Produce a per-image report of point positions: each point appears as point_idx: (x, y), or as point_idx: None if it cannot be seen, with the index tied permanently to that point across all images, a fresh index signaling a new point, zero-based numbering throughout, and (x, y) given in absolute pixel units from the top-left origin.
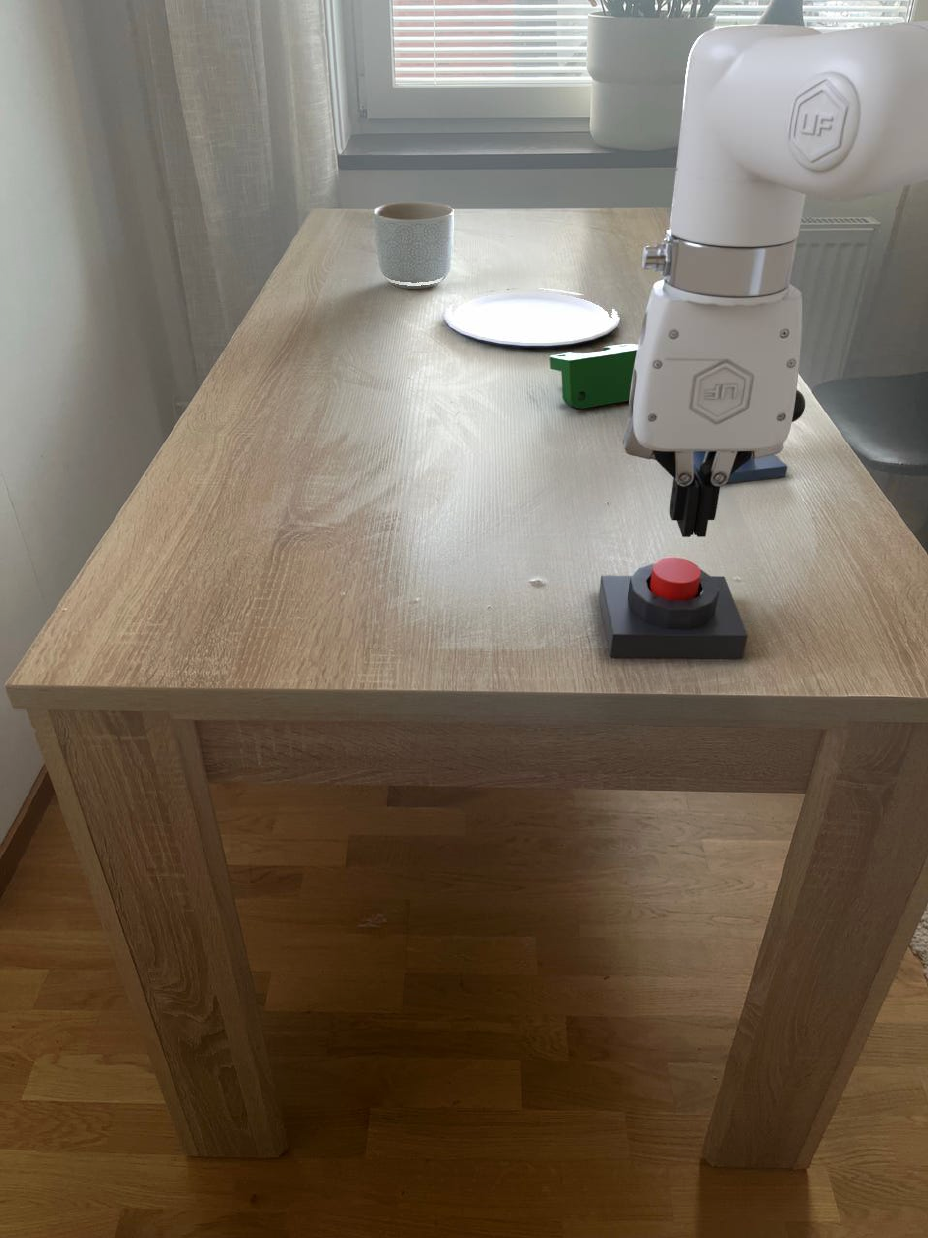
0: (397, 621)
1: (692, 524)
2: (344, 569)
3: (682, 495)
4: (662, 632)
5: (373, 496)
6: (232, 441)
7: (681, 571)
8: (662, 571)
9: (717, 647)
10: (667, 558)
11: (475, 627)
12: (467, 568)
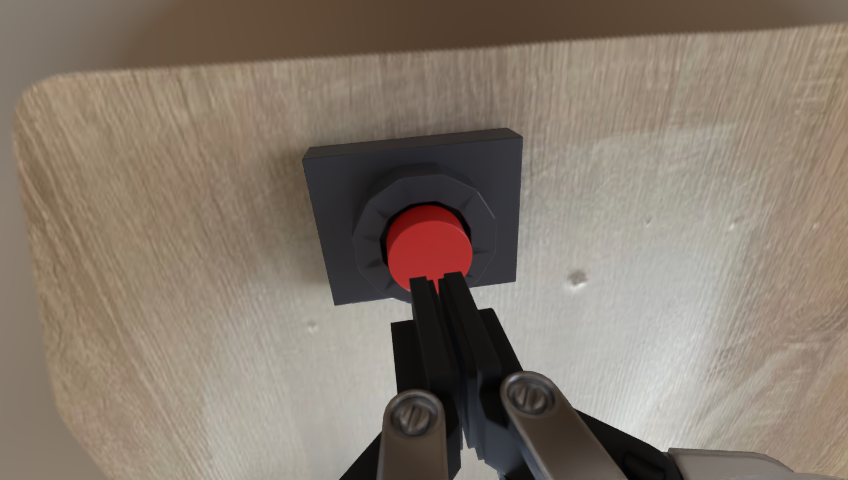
0: (770, 177)
1: (448, 293)
2: (798, 271)
3: (498, 357)
4: (443, 151)
5: (725, 401)
6: (835, 456)
7: (422, 256)
8: (456, 252)
9: (350, 148)
10: None
11: (676, 176)
12: (656, 295)
